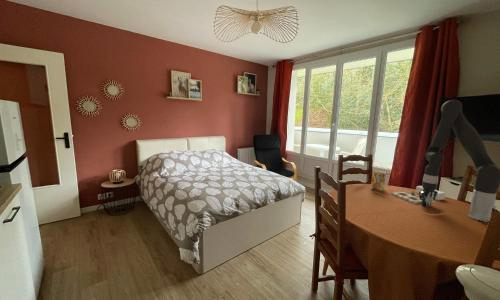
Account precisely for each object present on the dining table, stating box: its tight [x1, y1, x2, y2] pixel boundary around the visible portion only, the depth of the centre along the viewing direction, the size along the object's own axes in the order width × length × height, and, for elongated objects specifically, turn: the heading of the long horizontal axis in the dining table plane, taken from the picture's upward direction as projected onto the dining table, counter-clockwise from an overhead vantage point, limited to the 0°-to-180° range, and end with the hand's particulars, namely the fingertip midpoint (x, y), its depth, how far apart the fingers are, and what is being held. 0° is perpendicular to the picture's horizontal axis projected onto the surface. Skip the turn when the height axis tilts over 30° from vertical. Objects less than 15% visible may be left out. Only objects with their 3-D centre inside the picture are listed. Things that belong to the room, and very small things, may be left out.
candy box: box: [370, 170, 387, 191], centre depth 175 cm, size 9×4×15 cm, turn 44°
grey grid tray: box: [405, 190, 436, 203], centre depth 159 cm, size 20×7×4 cm, turn 15°
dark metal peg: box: [424, 195, 432, 208], centre depth 144 cm, size 4×4×8 cm
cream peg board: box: [390, 191, 422, 205], centre depth 157 cm, size 18×10×2 cm, turn 15°
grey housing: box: [415, 185, 446, 201], centre depth 162 cm, size 16×6×6 cm, turn 15°
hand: (426, 205), depth 144 cm, fingers closed on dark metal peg, 4 cm apart
